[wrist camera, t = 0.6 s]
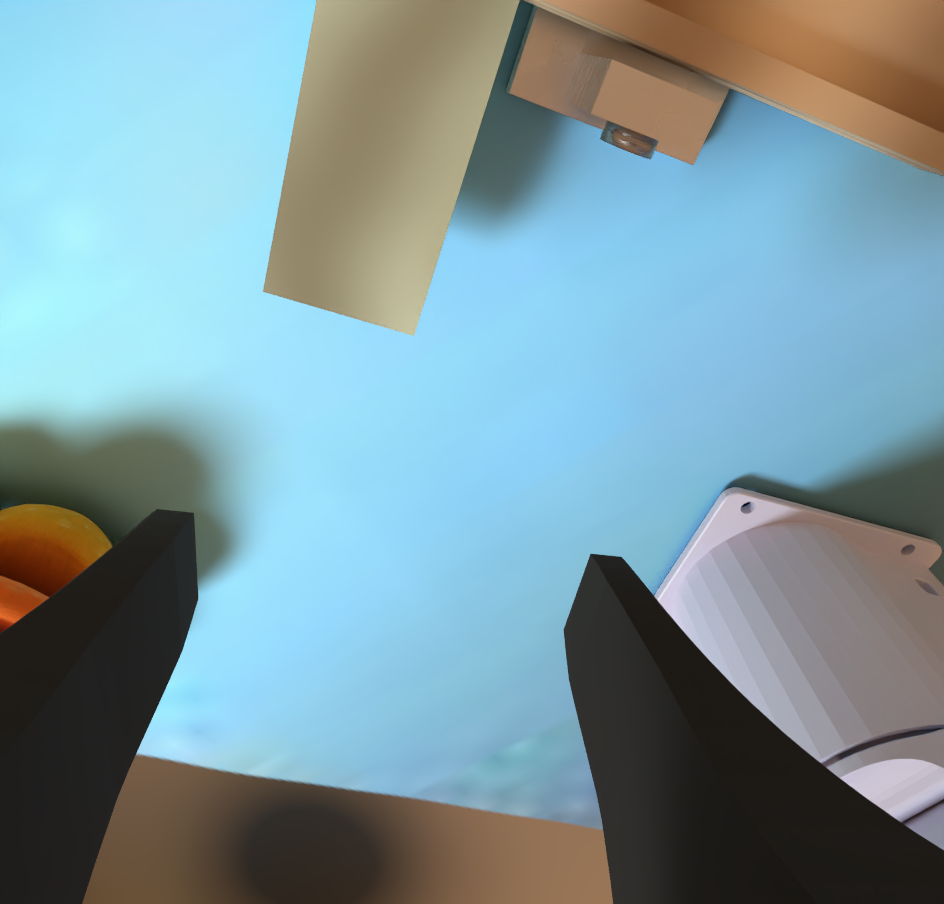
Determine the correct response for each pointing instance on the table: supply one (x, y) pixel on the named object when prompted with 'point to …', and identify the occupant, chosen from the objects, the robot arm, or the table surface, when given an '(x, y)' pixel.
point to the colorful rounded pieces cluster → (42, 555)
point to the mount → (615, 88)
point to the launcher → (468, 89)
